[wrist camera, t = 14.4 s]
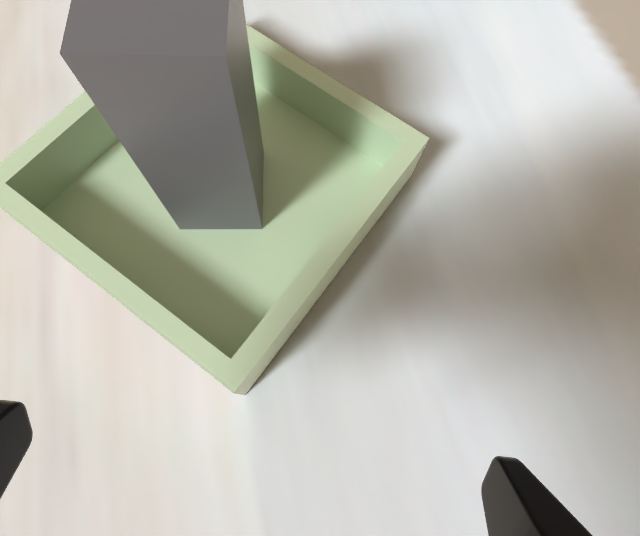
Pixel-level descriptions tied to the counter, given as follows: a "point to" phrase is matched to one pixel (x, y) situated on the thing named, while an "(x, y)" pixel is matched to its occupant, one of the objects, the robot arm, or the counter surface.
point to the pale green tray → (220, 244)
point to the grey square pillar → (177, 100)
